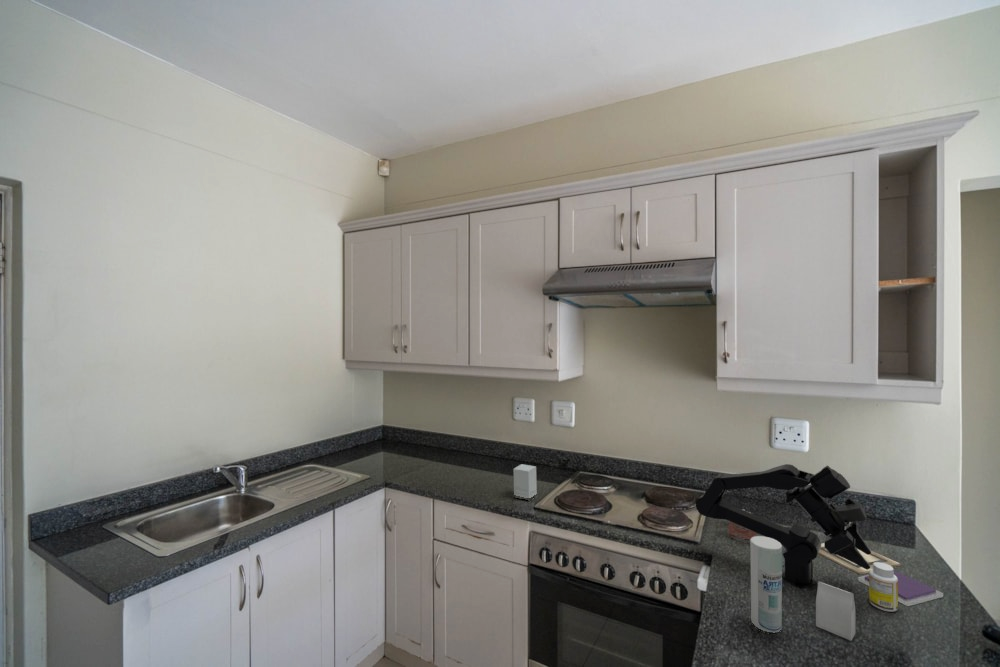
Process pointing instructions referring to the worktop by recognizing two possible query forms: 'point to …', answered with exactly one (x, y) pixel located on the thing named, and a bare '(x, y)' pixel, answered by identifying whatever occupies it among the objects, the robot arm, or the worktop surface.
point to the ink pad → (910, 590)
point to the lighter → (740, 532)
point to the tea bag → (835, 611)
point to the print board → (854, 567)
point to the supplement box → (525, 481)
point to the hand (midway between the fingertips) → (869, 560)
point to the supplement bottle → (883, 587)
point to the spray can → (766, 583)
